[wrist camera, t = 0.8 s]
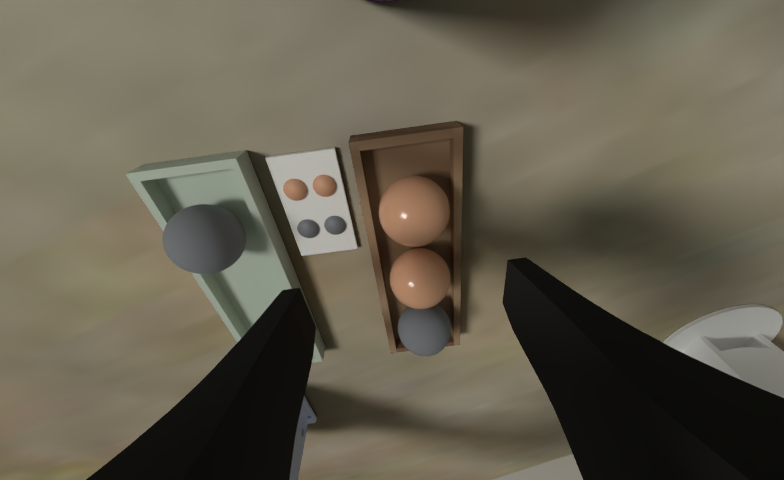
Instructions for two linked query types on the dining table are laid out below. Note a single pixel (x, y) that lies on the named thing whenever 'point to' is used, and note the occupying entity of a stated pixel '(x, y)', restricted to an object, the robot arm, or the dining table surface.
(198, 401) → the robot arm
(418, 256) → the terracotta ball
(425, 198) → the terracotta ball
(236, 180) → the sage trough
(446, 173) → the walnut trough
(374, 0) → the beverage can
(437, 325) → the grey ball
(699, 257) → the dining table surface
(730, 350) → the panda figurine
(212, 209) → the grey ball
